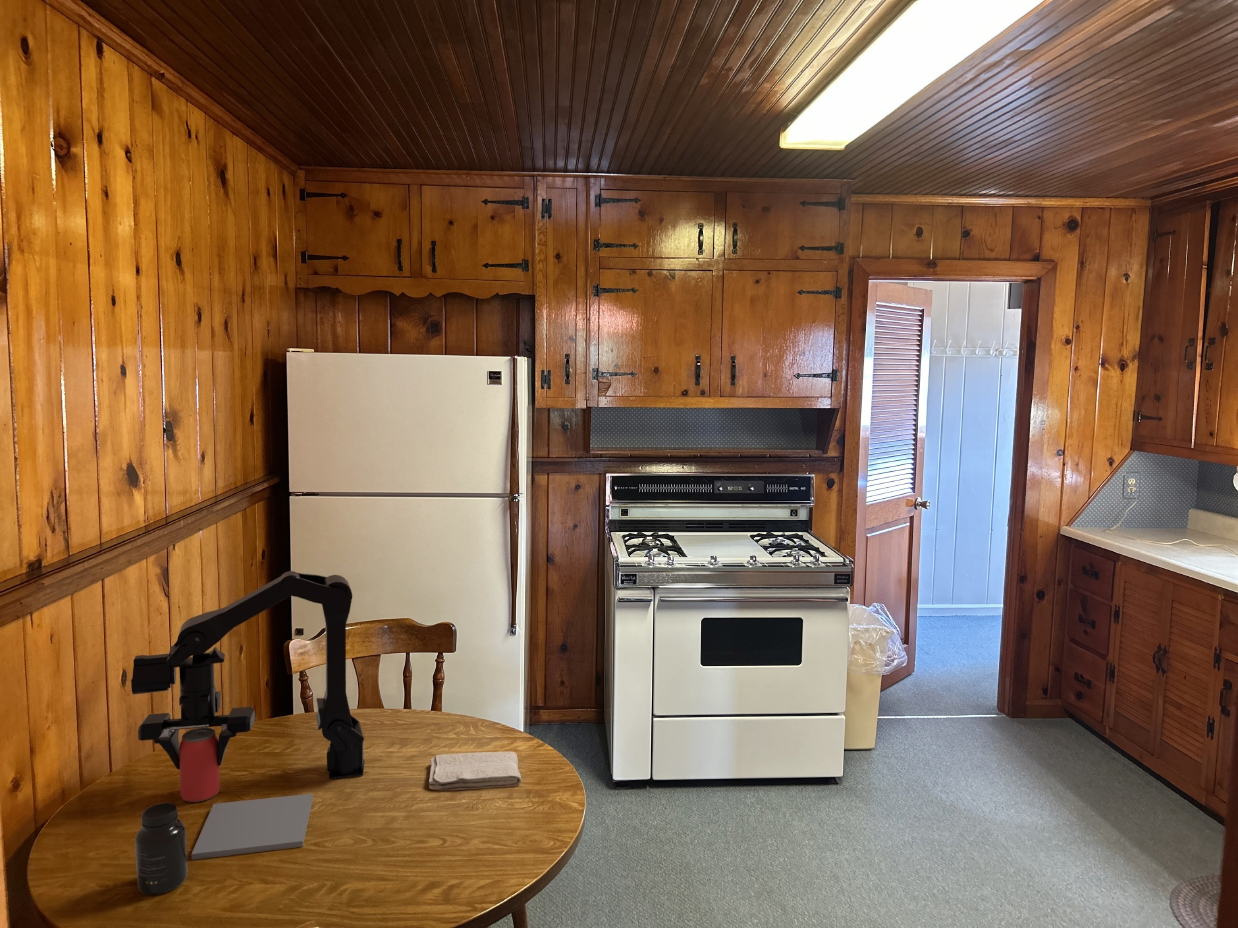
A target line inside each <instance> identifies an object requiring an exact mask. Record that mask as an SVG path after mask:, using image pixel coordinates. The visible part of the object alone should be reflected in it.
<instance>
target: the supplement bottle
mask: <svg viewBox="0 0 1238 928" xmlns="http://www.w3.org/2000/svg"><path fill="white" fill-rule="evenodd" d="M140 818H141V823H140V824H141V828H139V830H138V831H137V833H136V834H135V837H134V843H135V844H134V847H135V848H134V849H135V861H136V865H135V866H136V879H137V880H136V881H137V882H136V883H137V889H138V891H139V892H141V894H144V895H147V896H158V895H162V894H163V895H164V894H167V893H169V892H171V891H173V890H175V889H177V888H179V887H180V886H181V885H182V884H183V883H184V882H185V881H186V879H187V876H188V856H187V855H188V853H187V850H188V849H187V832H186V825H185V823H184V822H183V821H182V820H181V819H179V813H178V807H177V805H176V804H175V803H173V802H161V803H157V804H154V805H150V806H149V807H147V808H145V809H144V810H143V811H142V813H141V816H140Z"/></svg>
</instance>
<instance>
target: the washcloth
mask: <svg viewBox="0 0 1238 928" xmlns="http://www.w3.org/2000/svg"><path fill="white" fill-rule="evenodd" d="M429 761H430V764H431V765H430V773H429V780H428V787H429V790H434V791H436V790H437V791H459V790H475V789H477V790H478V789H489V788H505V787H509V788H510V787H515V786H516V787H517V786H518V785H520V784H521V782H522V776H521V773H520V770H519V759H518V755H517V753H516V752H515V751H496V752H495V751H494V752H493V751H484V752H483V751H482V752H479V751H477V752H465V753H464V752H463V753H444V754H437V755H434V757H433V758H431V759H430V760H429Z"/></svg>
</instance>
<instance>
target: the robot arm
mask: <svg viewBox="0 0 1238 928" xmlns="http://www.w3.org/2000/svg"><path fill="white" fill-rule="evenodd" d="M289 597H296V598H299V599H303V600H305V601H308V602H312V603H314V604H318V605H319V604H320V605H321V607H322V612H323V616H324V623H325V691H324V694H323V697H316V703H317V706H316V707H317V713H316V717H315V718H316V723H317V730H319V731H320V730H321V734H322V736H323V738H324V739H326V740H327V741H329V742H330V743H329V746H328V747H327V750H326V772H327V773H328V779H330V780H333V779H343V778H354V777H361V776H364V771H365V759H364V741H365V737H364V733H363V730H362V726H361V722H360V721H359V720H358V719H357V718H356V717H354V716H353V715H352V714H351V710H350V704H349V701H348V696H347V670H346V669H347V635H346V634H347V623H348V619H349V615H350V612H351V607H352V601H353V591H352V588H351V587H350V584H349V582H348V580H347V579H346V578H345V577H344V576H342V575H338V574H332V575H329V576H326V575H325V576H324V575H320V574H319V575H318V574H311V573H302V572H296V571H293V570H289V571H286V572H284V573H283V574H281V576H279V577H277V578H275V579H273V580H271V581H270V582H268V583H266V584H265V585H263V586H261V587H259V588H257V589H255V590H253V591H252V592H250V593H248V594H246V595H245V596H243V597H241V598H239V599H237V600H236V601H233V602H231V603H230V604H228V605H227V606H225V607H221V608H219V609H215V610H210V611H207V612H203V613H201V614H198V615H195V616H192V617H190V618H189V619H186V621H184V622H183V624H182V625H181V626H180V629H179V633H178V636H177V640H176V641H175V642H174V644H173V645H171V646H170V649H169V651H168V653H162V654H152V655H147V654H141V655H140V654H139V655H135V656H134V658H133V661H132V662H133V666H132V667H133V668H132V677H131V680H130V683H131V685H130V686H131V692H132V695H133V696H135V695H143V694H151V693H159V692H169V689H171V688H172V685H177V684H176V682H177V668H178V669H179V671H178V672H179V699H178V703H179V704H178V705H179V707H180V718H171V717H172V716H171V714H170V712H162V713H150V714H149V713H148V715H147V716H146V717H145V718H144V720H143V721H142V722H141V723H140V725H139V726H138V730H137V732H138V733H137V736H138V737H137V738H138V741H141V742H142V741H152V740H153V744H155V745H156V744H159V745H160V746H161V748H162V749H163V750H164V751H165V753H166V754H167V755H168V757H169V758H170V760H171V762H172V763H173V765H174V766H175V768H176V770H179V771H180V762H179V747H180V739H179V738H180V737H179V735H180V730H187V729H188V730H189V729H190V730H191V729H197V728H213V727H221V731H220V733H219V735H218V766H219V767H220V766H221V765H222V763H223V760H224V757H225V754H226V750H227V748H228V744H229V742H230V739H232V738H236V736H238V734H239V733H247V732H249V731H251V730H252V727H253V725H254V723H255V720H256V711H255V709H254V708H253V707H252V706H243V707H242V706H241V707H232V708H231V710H230V712H229V714H221V715H216V714H217V713H218V712H219V711H220V708H221V696H222V691H221V690H220V691H217V690H216V684H215V664H223V663H224V662H225V659H226V654H225V653H224V652H222V651H221V650H219V649H218V648H217V647H216V646H215V645H217V643H219V642H220V641H221V640H222V639H223V638H225V636H226V635H227V634H228V633H229V632H231V631H232V630H233V629H235V628H237V627H238V626H240V625H241V624H243V623H245V622H247V621H249V620H250V619H253V617H256V616H258V615H259V614H261V613H263V612H264V611H266V610H268V609H270V608H271V607H274V606H276V605H277V604H279V603H281V602H282V601H284V600H286V599H288V598H289ZM214 646H215V647H214ZM210 649H212V650H210ZM209 650H210V651H209ZM191 656H192V657H191Z"/></svg>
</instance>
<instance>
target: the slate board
mask: <svg viewBox="0 0 1238 928" xmlns="http://www.w3.org/2000/svg"><path fill="white" fill-rule="evenodd" d="M313 795H314V794H313V793H306V794H296V795H288V796H287V795H286V796H277V797H270V798H269V797H268V798H267V797H266V798H258V799H257V798H256V799H250V800H249V799H247V800H239V801H228V802H220V803H218V802H217V803H213V804H212V806H211V809H210V811H209V814H208V816H207V818H206V820H205V823H204V824H203V827H202V830H201V832H200V834H199V837H198V839H197V841H196V843H195V846H194V848H193V850H192V852H191V860H192V861H193V860H202V859H210V858H218V857H226V856H234V855H246V854H254V853H261V852H270V851H277V850H285V849H293V848H302V847H304V844H305V838H306V834H307V829H308V823H309V818H310V814H311V809H312V805H313V800H314V796H313Z"/></svg>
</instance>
